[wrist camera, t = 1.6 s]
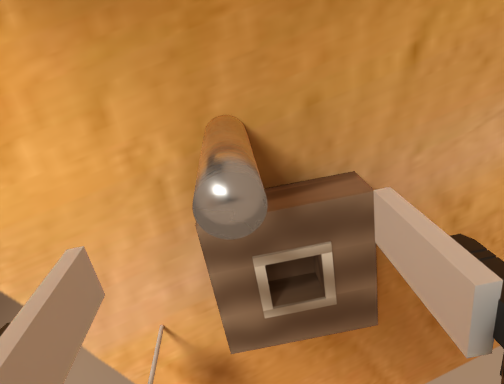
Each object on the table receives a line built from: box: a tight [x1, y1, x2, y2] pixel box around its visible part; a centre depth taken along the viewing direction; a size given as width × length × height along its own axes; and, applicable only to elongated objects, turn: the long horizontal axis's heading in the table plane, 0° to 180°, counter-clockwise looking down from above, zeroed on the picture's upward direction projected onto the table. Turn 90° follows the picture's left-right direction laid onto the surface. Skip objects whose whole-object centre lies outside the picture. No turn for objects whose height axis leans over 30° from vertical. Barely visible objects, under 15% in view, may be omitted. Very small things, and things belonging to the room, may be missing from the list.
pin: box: [193, 115, 268, 240], centre depth 25 cm, size 4×4×15 cm
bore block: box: [196, 171, 378, 354], centre depth 35 cm, size 16×16×5 cm
